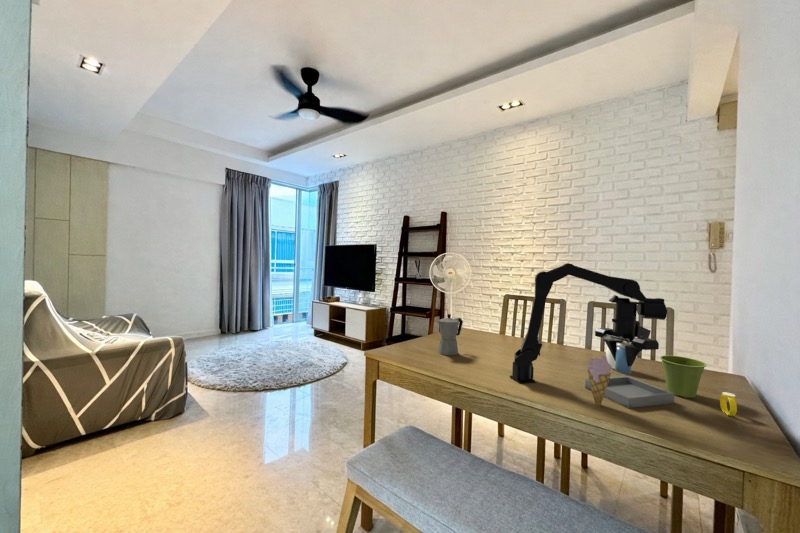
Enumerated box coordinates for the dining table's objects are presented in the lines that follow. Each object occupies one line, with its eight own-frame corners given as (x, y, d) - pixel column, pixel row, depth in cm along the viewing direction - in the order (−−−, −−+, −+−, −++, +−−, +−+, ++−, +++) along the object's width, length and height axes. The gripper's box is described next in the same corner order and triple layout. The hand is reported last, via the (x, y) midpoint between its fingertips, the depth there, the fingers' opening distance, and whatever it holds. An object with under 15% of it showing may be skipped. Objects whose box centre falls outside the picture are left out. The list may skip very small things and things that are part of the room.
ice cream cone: (609, 411, 95) (611, 360, 95) (584, 406, 99) (586, 356, 98) (609, 403, 101) (611, 354, 101) (586, 398, 104) (587, 351, 104)
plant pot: (650, 390, 113) (651, 357, 113) (671, 385, 117) (672, 354, 117) (692, 404, 102) (694, 367, 102) (713, 398, 107) (714, 363, 106)
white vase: (628, 368, 135) (629, 324, 135) (629, 374, 129) (630, 328, 128) (605, 365, 140) (607, 322, 139) (605, 370, 133) (607, 325, 133)
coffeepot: (444, 357, 145) (445, 316, 145) (430, 352, 153) (431, 313, 152) (468, 352, 154) (470, 314, 154) (454, 347, 162) (455, 311, 161)
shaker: (623, 374, 107) (625, 345, 106) (611, 369, 111) (613, 342, 111) (634, 373, 108) (635, 345, 107) (622, 368, 112) (623, 341, 112)
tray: (627, 408, 98) (628, 398, 98) (585, 387, 113) (585, 379, 113) (674, 403, 102) (674, 393, 102) (626, 384, 118) (627, 375, 118)
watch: (739, 420, 92) (741, 399, 92) (726, 418, 94) (728, 398, 93) (728, 410, 98) (730, 390, 97) (716, 408, 99) (717, 389, 99)
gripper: (674, 322, 102) (671, 372, 102) (620, 312, 120) (618, 354, 120) (645, 322, 99) (642, 374, 99) (594, 312, 117) (592, 356, 118)
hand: (623, 363), depth 109 cm, fingers closed on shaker, 4 cm apart
